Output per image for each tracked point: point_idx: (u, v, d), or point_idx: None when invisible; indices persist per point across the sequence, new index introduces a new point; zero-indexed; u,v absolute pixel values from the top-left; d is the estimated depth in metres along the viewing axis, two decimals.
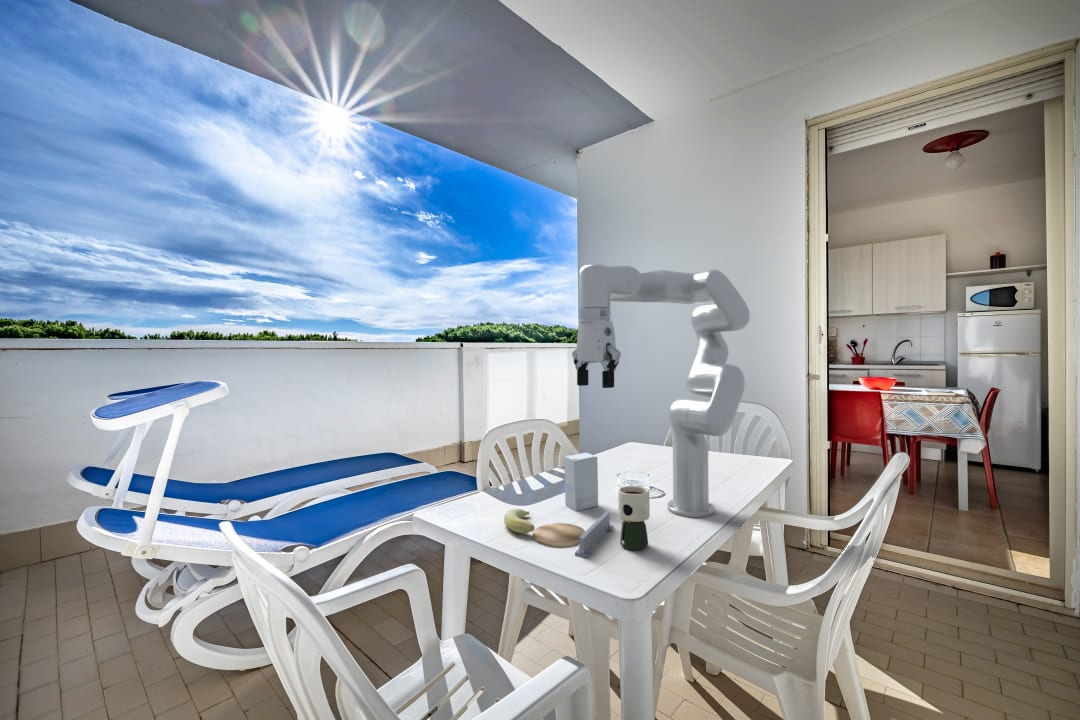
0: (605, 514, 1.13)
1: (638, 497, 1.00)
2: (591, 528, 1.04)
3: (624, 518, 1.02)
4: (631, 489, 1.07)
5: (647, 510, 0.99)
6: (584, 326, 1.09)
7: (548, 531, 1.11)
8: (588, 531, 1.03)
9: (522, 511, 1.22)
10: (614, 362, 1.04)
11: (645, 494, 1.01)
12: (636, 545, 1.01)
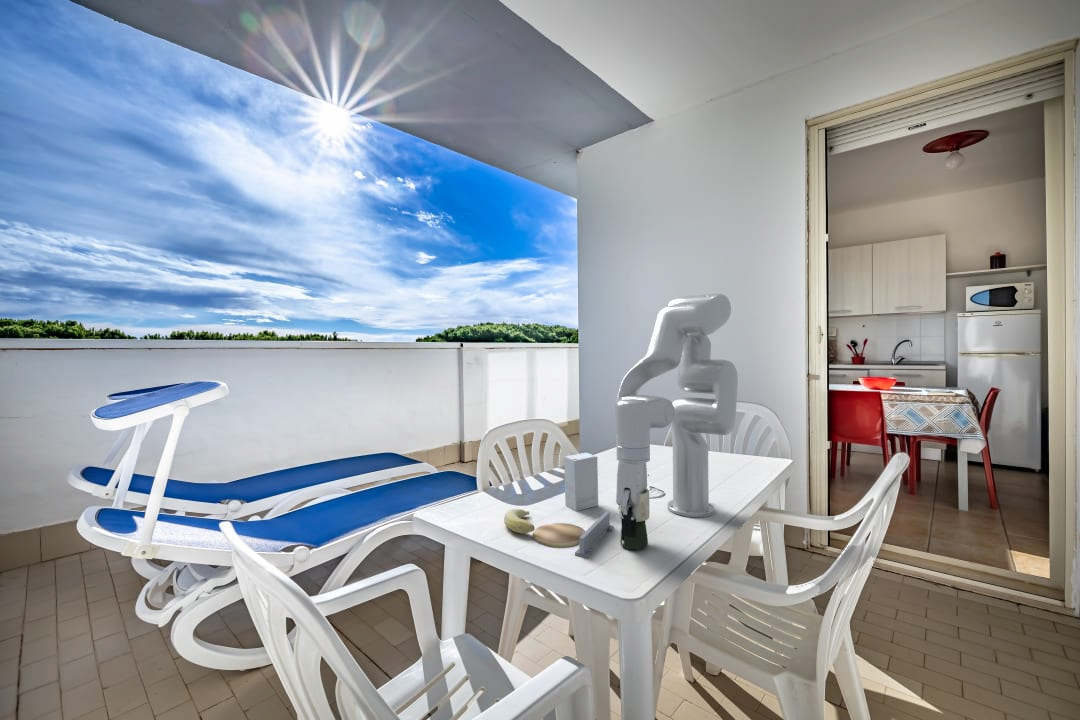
0: (605, 514, 1.13)
1: None
2: (591, 528, 1.04)
3: None
4: None
5: (647, 510, 0.99)
6: (643, 466, 1.02)
7: (548, 531, 1.11)
8: (588, 531, 1.03)
9: (522, 511, 1.22)
10: None
11: (645, 494, 1.01)
12: (636, 545, 1.01)
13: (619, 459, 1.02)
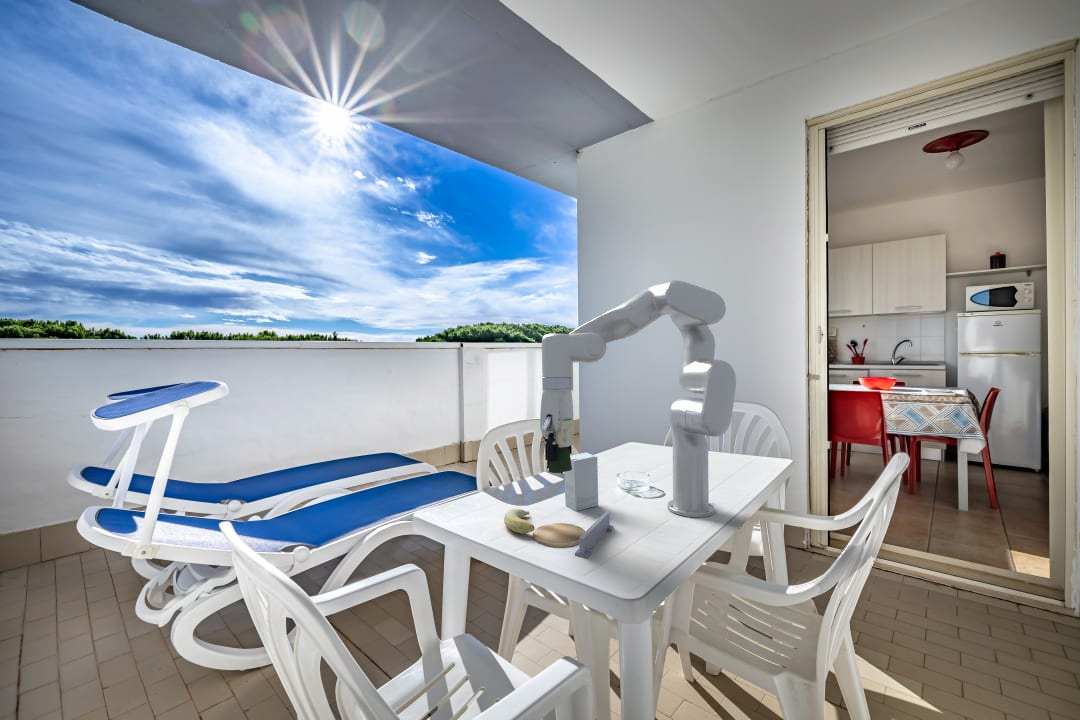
0: (605, 514, 1.13)
1: None
2: (591, 528, 1.04)
3: None
4: None
5: (568, 435, 1.05)
6: (566, 395, 1.08)
7: (548, 531, 1.11)
8: (588, 531, 1.03)
9: (522, 511, 1.22)
10: None
11: (567, 421, 1.07)
12: (559, 469, 1.07)
13: (543, 389, 1.08)
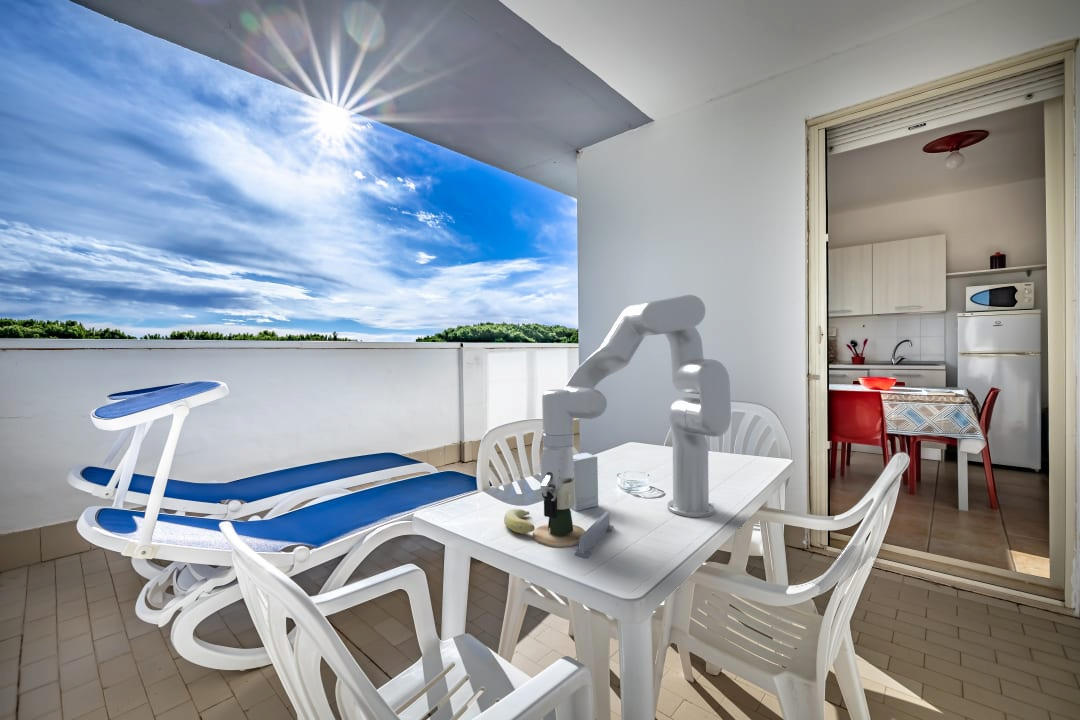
0: (605, 514, 1.13)
1: (562, 486, 1.07)
2: (591, 528, 1.04)
3: None
4: None
5: (569, 498, 1.05)
6: (566, 452, 1.08)
7: (548, 531, 1.11)
8: (588, 531, 1.03)
9: (522, 511, 1.22)
10: None
11: (569, 483, 1.08)
12: (560, 531, 1.07)
13: (544, 446, 1.08)
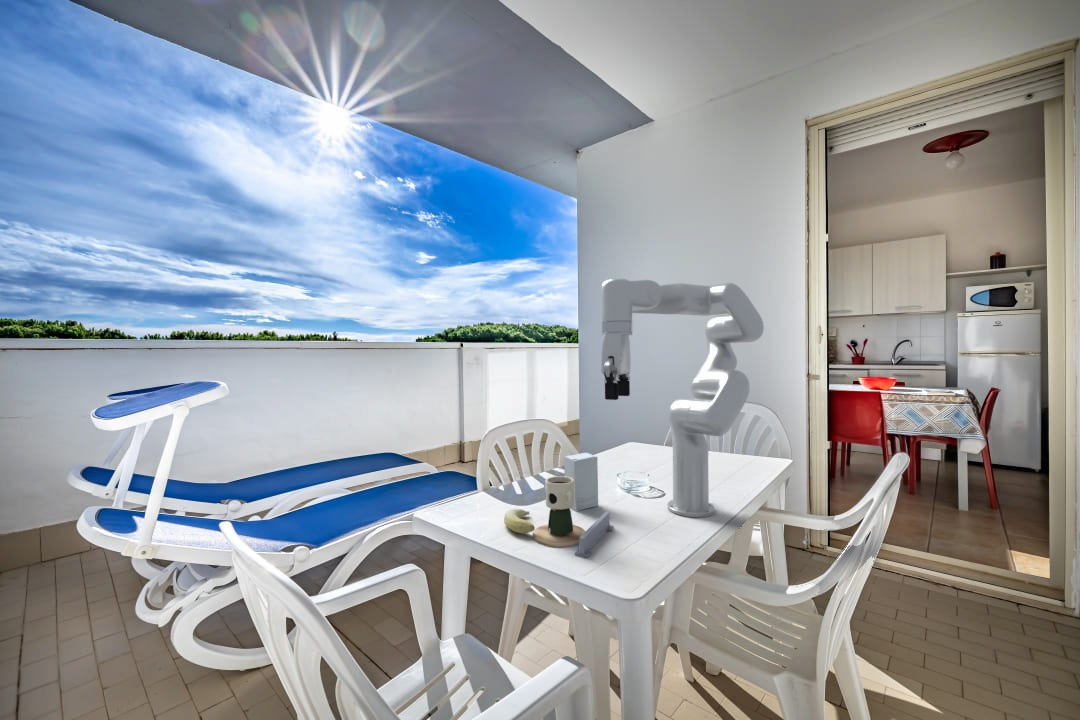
0: (605, 514, 1.13)
1: (562, 486, 1.07)
2: (591, 528, 1.04)
3: (549, 506, 1.08)
4: (559, 479, 1.13)
5: (569, 498, 1.05)
6: (626, 339, 1.11)
7: (548, 531, 1.11)
8: (588, 531, 1.03)
9: (522, 511, 1.22)
10: None
11: (569, 483, 1.08)
12: (560, 531, 1.07)
13: (604, 333, 1.11)
